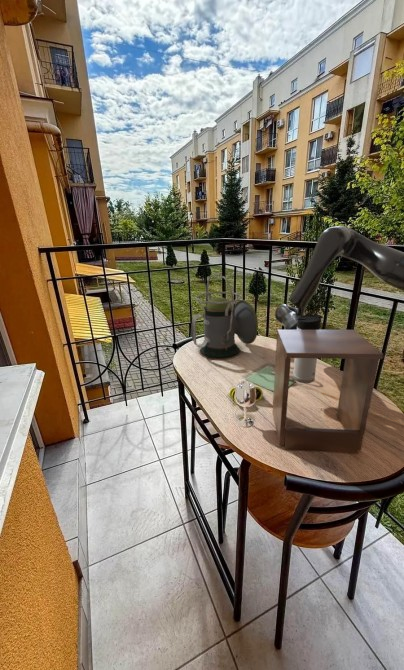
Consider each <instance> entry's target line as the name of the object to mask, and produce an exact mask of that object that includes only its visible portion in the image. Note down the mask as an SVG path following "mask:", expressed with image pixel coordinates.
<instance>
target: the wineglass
mask: <svg viewBox="0 0 404 670" xmlns="http://www.w3.org/2000/svg"><path fill="white" fill-rule="evenodd" d="M255 386H256V385H255V384H254V383H252V382H249V381H247V380H241V381H238V382H237V384H236V387H235V388H236V390H235V400H236V402H237V404H236V405H238V406H240V407H242V408H243V413H244V414H243V415H244V416H241V417H238V418H237V421H236V422H237V425H238V426H240V427H242V428H249V427H251V426H253V424H254V420H253V419H252V418H251V417H247V411H248V408H250V407H252V406H254V405H255V404H256V402H257V401H256V390H255Z"/></svg>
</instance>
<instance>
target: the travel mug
mask: <svg viewBox="0 0 404 670" xmlns="http://www.w3.org/2000/svg"><path fill="white" fill-rule="evenodd" d="M322 319H323V315H321V314H303V316H300V317H299V318H298V324H297V330H321V323H322ZM293 359H294V361H293V373H292V378H293V380H294V381H296V382H298V383H301V384H311V383H313V382H314V381H315V380H316V371H317V363H318V362H317V361H318V360H317V359H318V358H293Z"/></svg>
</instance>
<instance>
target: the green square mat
mask: <svg viewBox="0 0 404 670" xmlns="http://www.w3.org/2000/svg"><path fill="white" fill-rule="evenodd" d="M273 371H275V367H272V366H269V365H266V366H265V367H263V368H261V369H259V370H257V371H256V372H255V373H253V374H251V375H250V376H248V377H246V378H245V380H244V381H249V382H252V383H253V384H254V385H255V386H258V387H261V388H263V389H266V390H268V391H271V392H273V393H274V378H275V372H273ZM296 382H297V381H296V380H294V379H290V378H289V387H291V386H292V385H294V384H295V383H296Z"/></svg>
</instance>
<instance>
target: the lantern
mask: <svg viewBox="0 0 404 670" xmlns="http://www.w3.org/2000/svg"><path fill="white" fill-rule="evenodd" d="M213 276H214V277H215V278H219V279H224V280H225V282H226V284H227V286H228V289H229V291H212V292H210V291H209V285H210V281H211V279H212V277H213ZM205 291H206V292H203V293H200V294H198V295H197V296H195V297H194V299H195V300H196V302H198V305H199V307H201V308H202V310H203V314H199V313H198V314H195V315H194V316H193V317H192V320H191V326H190V327H191V328H190V334H191V335H190V336H191V339H192V341H193V344H194V345H195V346H196V347H197V348H200V349H199V355H200V354H201V355H202V356H201V355H200V356H201V357H203V358H205V357H206V358H205V359H208V358H209V359H208V360H213V359H215V360H214V361H225V360H224V359H226V360H231V359H233V357H234V358H236V357H238V356H239V355H240V354H241V349H240V348H239V346H238V345H237V344H236V339H235V336H237V337H238V339H239V340H240V341H241V343H243V344H245V345H250V344H253V343H254V342H255V341H256V338H257V336H258V332H259V321H258V316H257V314H256V311H255V308H254V307H253V305H252V304H251V303H250V302H249V301H248V300H245V299H243V297H244V295H242V294H240V293H237V292H233V290H232V287H231V285H230V282H229V280H228V278H227V277H226V276H224V275H222V276H221V274H220V273H216V274H215V273H211V274H210V275H209V277H208V279H207V283H206V290H205ZM214 294H223V295H224V294H227V295H230V297H231V299H229V300H228V299H227V298H225V297H221V296H218V297H216V296H215V297H213V298H212V295H214ZM234 295H235V299H234ZM202 296H206V300H202V299H201V298H200V297H202ZM201 303H202V304H206V305H204V306H203V305H202V304H201ZM201 317H202V320H203V330H204V331H203V333H204V335H203V339H204V340H203V341H202V342H201V344H198V343H197V324H196V323H197V322H196V321H197V319H198V318H201ZM239 353H240V354H239ZM237 355H238V356H237ZM235 356H236V357H235ZM230 358H231V359H230Z"/></svg>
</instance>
